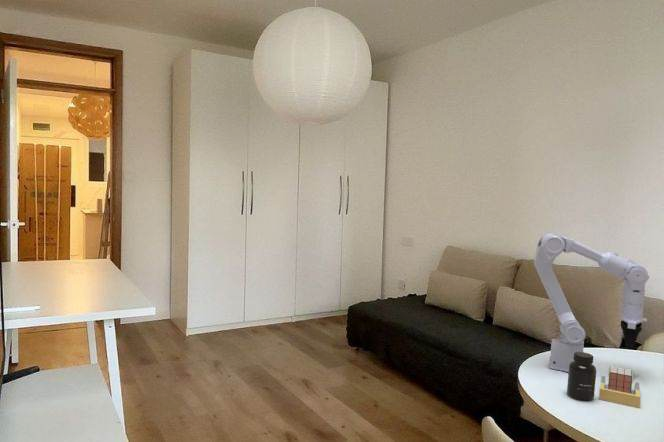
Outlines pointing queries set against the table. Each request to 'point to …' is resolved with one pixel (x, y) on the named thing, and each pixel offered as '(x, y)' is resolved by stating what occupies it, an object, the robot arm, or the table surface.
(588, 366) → the supplement bottle
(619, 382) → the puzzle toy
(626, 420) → the table surface
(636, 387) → the tube holder
